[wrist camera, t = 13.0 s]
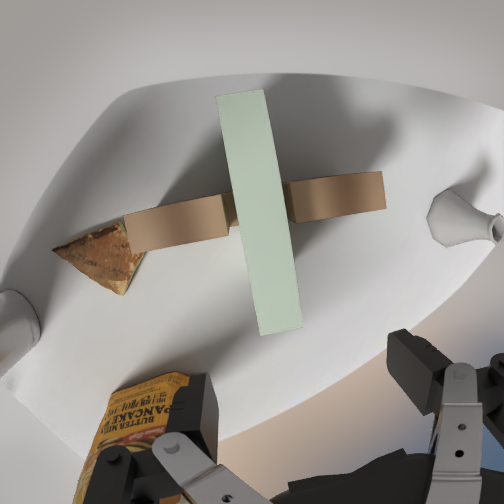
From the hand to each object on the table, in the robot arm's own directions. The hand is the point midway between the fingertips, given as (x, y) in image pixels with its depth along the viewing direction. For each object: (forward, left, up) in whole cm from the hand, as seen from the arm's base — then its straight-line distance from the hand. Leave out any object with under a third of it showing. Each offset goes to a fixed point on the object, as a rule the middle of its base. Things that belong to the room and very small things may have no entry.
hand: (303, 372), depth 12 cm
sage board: (-2, +6, -21) cm, 22 cm away
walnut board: (-2, +6, -21) cm, 22 cm away
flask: (+24, +7, -21) cm, 33 cm away
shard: (-18, -2, -22) cm, 28 cm away
